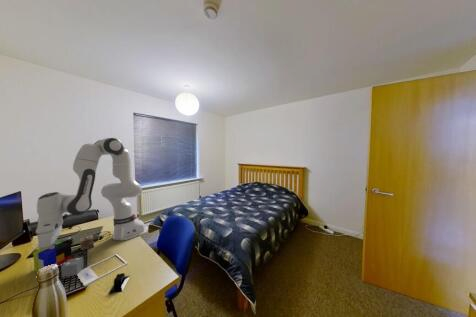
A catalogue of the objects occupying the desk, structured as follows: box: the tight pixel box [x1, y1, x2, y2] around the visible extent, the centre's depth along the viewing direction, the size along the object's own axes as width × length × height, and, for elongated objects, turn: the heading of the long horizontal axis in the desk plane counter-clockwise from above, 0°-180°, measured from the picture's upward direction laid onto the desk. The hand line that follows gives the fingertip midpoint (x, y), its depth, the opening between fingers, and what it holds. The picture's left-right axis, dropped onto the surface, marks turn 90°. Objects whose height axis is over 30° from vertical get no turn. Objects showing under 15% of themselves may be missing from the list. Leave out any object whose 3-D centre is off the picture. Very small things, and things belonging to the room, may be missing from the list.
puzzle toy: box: [32, 241, 73, 272], centre depth 90 cm, size 10×10×10 cm
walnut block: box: [79, 234, 95, 251], centre depth 107 cm, size 6×6×6 cm
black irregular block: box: [108, 272, 131, 295], centre depth 77 cm, size 12×7×5 cm, turn 15°
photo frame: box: [76, 253, 128, 287], centre depth 87 cm, size 15×1×18 cm
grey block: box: [60, 256, 85, 278], centre depth 84 cm, size 6×6×6 cm
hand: (52, 247), depth 90 cm, fingers closed, pressing on puzzle toy
